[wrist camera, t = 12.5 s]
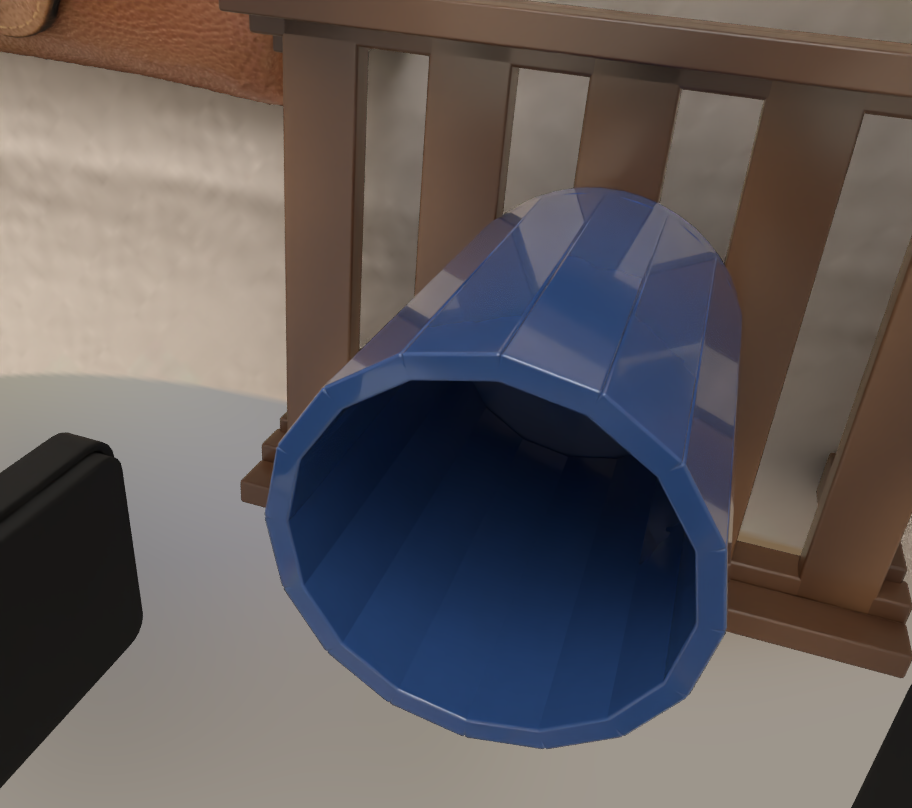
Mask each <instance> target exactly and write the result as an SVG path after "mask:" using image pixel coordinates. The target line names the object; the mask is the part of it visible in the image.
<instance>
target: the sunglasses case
mask: <svg viewBox="0 0 912 808" xmlns="http://www.w3.org/2000/svg"><path fill="white" fill-rule="evenodd" d="M0 52H5V53H12V54H19V55H25V56H34V57H38V58H43V59H51V60H56V61H64V62H67V63H75V64H79V65H84V66H93V67H98V68H105V69H109V70H115V71H121V72H127V73H133V74H140V75H144V76H148V77H153V78H157V79H163V80H166V81H172V82H176V83H182V84H185V85H189V86H193V87H198V88H204V89H209V90H211V91H214V92H219V93H225V94H229V95H231V96H235V97H239V98H245V99H250V100H254V101H257V102H263V103H267V104H269V105H271V104H273V105H275V104H277V105H281V106H283V53H280V52H275V51H274V50H273V35H266V34H258V33H253V32H251V31H250V29H249V14H241V13H233V12H225V11H221V10H220V9H219V0H0Z"/></svg>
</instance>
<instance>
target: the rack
mask: <svg viewBox="0 0 912 808" xmlns="http://www.w3.org/2000/svg"><path fill="white" fill-rule="evenodd" d="M219 9H220V10H221V11H225V12H233V13H241V14H249V29H250V31H251V32H253V33H258V34H266V35H273V50H274V51H275V52H280V53H283V119H284V196H285V273H286V350H287V412H286V413H285V414H284V415H283V416H282V417H281V418H280V429H277V430H276V431H275V432H274V433H273V434H272V435H271V436H270V437H269V438H268V439H267V440H266V441H265V442H264V443H263V444H262V461H260V462H259V463H258V464H257V465H256V466H255V467H254V468H253V469H252V470H251V471H250V472H249V473H248V474H247V475H246V476H245V477H244V478H243V479H242V480H241V500H242V501H243V502H246V503H250V504H254V505H258V506H261V507H265V508H266V504H267V498H268V493H269V487H270V481H271V475H272V470H273V464H274V458H275V453H276V448H277V446H278V443H279V442H280V440H281V439H282V438H283V436H284V435H285V434H286V433H287V431H288V430H289V429H290V428H291V426H292V425H293V424H294V423H295V421H296V420H297V419H298V417H299V416H300V415H301V414H302V412H303V411H304V410H305V409H306V407H307V406H308V405H309V404H310V402H311V401H312V400H313V398H314V397H315V396H316V395H317V393H318V392H319V391H320V390H321V388H322V387H323V386H324V385H325V384H327V383H328V382H329V381H330V380H331V379H332V378H333V377H334V376H335V375H336V374H337V373H338V372H339V371H340V370H341V369H342V368H343V367H344V366H345V365H346V364H347V363H348V362H349V361H350V360H351V359H352V358H353V357H354V356H355V355H356V354H357V353H358V352H359V351H360V350H359V341H360V309H361V278H362V246H363V215H364V183H365V152H366V120H367V89H368V57H369V50H371V49H380V50H387V51H395V52H403V53H410V54H418V55H425V56H430V57H429V72H428V88H427V104H426V120H425V135H424V151H423V167H422V183H421V198H420V214H419V230H418V246H417V261H416V277H415V293H414V297H415V296H416V295H417V294H418V293H419V292H420V291H421V290H422V289H423V288H424V287H425V286H426V285H427V284H428V283H429V282H430V281H431V280H432V279H433V278H434V277H435V276H436V275H437V274H438V273H439V272H440V271H441V270H442V269H443V268H444V267H445V266H446V265H447V264H448V263H449V262H450V261H451V260H452V259H454V258H455V257H456V256H457V255H458V254H459V253H460V252H461V251H462V250H463V249H464V248H465V247H466V246H467V245H468V244H469V243H470V242H471V241H472V240H473V239H474V238H475V237H476V236H477V235H478V234H479V233H480V232H481V231H482V230H483V229H484V228H485V227H486V226H487V225H488V224H490V223H491V222H492V221H494V220H496V219H498V218H500V217H501V216H502V215H503V209H504V200H505V191H506V182H507V173H508V164H509V155H510V146H511V137H512V128H513V119H514V110H515V101H516V92H517V83H518V74H519V68H524V69H532V70H539V71H547V72H554V73H562V74H570V75H577V76H585V77H590V80H589V87H588V94H587V101H586V107H585V114H584V121H583V127H582V134H581V141H580V148H579V154H578V161H577V168H576V174H575V181H574V188H579V187H592V188H607V189H614V190H621V191H625V192H628V193H632V194H636V195H639V196H642V197H645V198H647V199H649V200H652V201H654V202H657V203H659V204H660V199H661V194H662V189H663V183H664V178H665V173H666V168H667V163H668V158H669V153H670V148H671V143H672V138H673V133H674V128H675V123H676V118H677V113H678V108H679V103H680V98H681V93H682V89H683V90H691V91H699V92H706V93H714V94H721V95H729V96H737V97H744V98H752V99H759V100H764V102H763V106H762V110H761V115H760V119H759V123H758V127H757V131H756V135H755V139H754V143H753V147H752V152H751V156H750V160H749V164H748V168H747V172H746V176H745V180H744V184H743V189H742V193H741V197H740V201H739V205H738V209H737V213H736V217H735V221H734V226H733V230H732V234H731V238H730V242H729V246H728V250H727V254H726V258H725V262H724V265H725V267H726V269H727V271H728V272H729V274H730V276H731V279H732V281H733V284H734V287H735V290H736V292H737V295H738V300H739V305H740V310H741V314H742V368H741V387H740V405H739V423H738V441H737V459H736V478H735V496H734V514H733V532H732V550H731V568H730V586H729V604H728V622H727V629H726V631H728V632H731V633H735V634H739V635H742V636H746V637H750V638H753V639H757V640H761V641H765V642H768V643H772V644H776V645H780V646H784V647H787V648H791V649H794V650H798V651H802V652H806V653H810V654H813V655H817V656H821V657H825V658H828V659H832V660H836V661H839V662H843V663H847V664H850V665H855V666H858V667H862V668H865V669H869V670H873V671H877V672H880V673H884V674H888V675H892V676H895V677H899V678H903V677H904V676H905V674H906V672H907V670H908V668H909V666H910V663H911V661H912V650H911V646H910V641H909V636H908V631H907V627H906V625H905V624H906V621H907V619H908V617H909V615H910V612H911V610H912V602H911V597H910V593H909V588H908V584H907V583H906V582H905V581H903V579H904V577H905V575H906V572H907V566H906V562H905V558H904V553H903V549H902V545H901V538H902V536H903V534H904V531H905V529H906V526H907V524H908V521H909V519H910V517H911V514H912V236H911V239H910V242H909V245H908V247H907V250H906V253H905V256H904V259H903V262H902V265H901V268H900V270H899V273H898V276H897V279H896V282H895V285H894V288H893V291H892V294H891V296H890V299H889V302H888V305H887V308H886V311H885V314H884V317H883V319H882V322H881V325H880V328H879V331H878V334H877V337H876V340H875V342H874V345H873V348H872V351H871V354H870V357H869V360H868V363H867V366H866V368H865V371H864V374H863V377H862V380H861V383H860V386H859V389H858V391H857V394H856V397H855V400H854V403H853V406H852V409H851V412H850V414H849V417H848V420H847V423H846V426H845V429H844V432H843V435H842V438H841V440H840V443H839V446H838V449H837V452H836V453H830V454H829V456H828V459H827V462H826V465H825V468H824V471H823V474H822V477H821V480H820V483H819V485H818V488H817V491H816V492H817V503H818V507H817V510H816V512H815V515H814V518H813V521H812V524H811V527H810V530H809V533H808V535H807V538H806V541H805V544H804V547H803V550H802V553H801V556H798V555H794V554H790V553H786V552H782V551H778V550H774V549H770V548H765V547H761V546H757V545H753V544H749V543H745V542H741V541H737V538H738V535H739V531H740V528H741V525H742V521H743V518H744V515H745V511H746V508H747V505H748V501H749V498H750V495H751V491H752V488H753V485H754V481H755V478H756V475H757V471H758V468H759V465H760V461H761V458H762V455H763V451H764V448H765V445H766V441H767V438H768V434H769V431H770V428H771V424H772V421H773V418H774V414H775V411H776V408H777V404H778V401H779V398H780V394H781V391H782V388H783V384H784V381H785V378H786V374H787V371H788V368H789V364H790V361H791V358H792V354H793V351H794V348H795V344H796V341H797V338H798V334H799V331H800V327H801V324H802V321H803V317H804V314H805V311H806V307H807V304H808V301H809V297H810V294H811V291H812V287H813V284H814V281H815V277H816V274H817V271H818V267H819V264H820V261H821V257H822V254H823V251H824V247H825V244H826V241H827V237H828V234H829V231H830V227H831V224H832V220H833V217H834V214H835V210H836V207H837V204H838V200H839V197H840V194H841V190H842V187H843V184H844V180H845V177H846V174H847V170H848V167H849V164H850V160H851V157H852V154H853V150H854V147H855V144H856V140H857V137H858V134H859V130H860V127H861V124H862V120H863V117H864V114H865V113H866V114H873V115H881V116H888V117H896V118H904V119H911V120H912V44H906V43H897V42H888V41H880V40H871V39H862V38H853V37H844V36H835V35H827V34H818V33H809V32H800V31H791V30H783V29H774V28H765V27H756V26H747V25H738V24H730V23H721V22H712V21H703V20H694V19H686V18H677V17H668V16H659V15H650V14H641V13H633V12H624V11H615V10H606V9H597V8H588V7H580V6H571V5H562V4H553V3H544V2H536V1H527V0H219Z"/></svg>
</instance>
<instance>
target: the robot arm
mask: <svg viewBox="0 0 912 808" xmlns="http://www.w3.org/2000/svg"><path fill="white" fill-rule="evenodd" d="M142 620H143V611H142V605H141V597H140V590H139V584H138V577H137V569H136V563H135V556H134V548H133V541H132V534H131V528H130V520H129V513H128V507H127V499H126V492H125V485H124V478H123V471H122V467H121V463H120V462H119V460H118V459H116V458H114V455H113V451H112V450H111V448H110V447H109V445H107V444H105V443H103V442H100V441H96V440H93V439H89V438H85V437H82V436H78V435H74V434H71V433H59V434H57V435H55V436H53V437H51V438H50V439H48V440H47V441H46V442H44V443H42V444H41V445H40V446H38V447H37V448H35V449H34V450H32V451H31V452H30V453H28V454H27V455H25V456H24V457H23V458H21V459H20V460H18V461H17V462H15V463H14V464H12V465H11V466H10V467H8V468H7V469H5V470H4V471H2V472H1V473H0V788H1V787H2V786H3V785H4V784H5V783H6V781H7V780H8V779H9V778H10V777H11V776H12V775H13V774H14V773H15V771H16V770H17V769H18V768H19V767H20V766H21V765H22V764H23V763H24V761H25V760H26V759H27V758H28V757H29V756H30V755H31V754H32V753H33V751H35V749H36V748H37V747H38V746H39V745H40V744H41V743H42V742H43V741H44V740H45V738H46V737H47V736H48V735H49V734H50V733H51V732H52V731H53V730H54V729H55V727H56V726H57V725H58V724H59V723H60V722H61V721H62V720H63V719H64V718H65V716H66V715H67V714H68V713H69V712H70V711H71V710H72V709H73V708H74V707H75V705H76V704H77V703H78V702H79V701H80V700H81V699H82V698H83V697H84V696H85V694H86V693H87V692H88V691H89V690H90V689H91V688H92V687H93V686H94V684H95V683H96V682H97V681H98V680H99V679H100V678H101V677H102V676H103V675H104V674H105V672H106V671H107V670H108V669H109V668H110V667H111V666H112V665H113V664H114V662H115V661H116V660H117V659H118V658H119V657H120V656H121V655H122V654H123V653H124V651H125V650H126V649H127V648H128V647H129V646H130V645H131V644H132V642H133V641H134V640H135V638H136V636H137V635H138V633H139V630H140V628H141V624H142ZM851 808H912V685H911V686H910V688H909V690H908V692H907V694H906V696H905V698H904V700H903V702H902V704H901V707H900V708H899V710H898V713H897V715H896V717H895V719H894V721H893V723H892V725H891V727H890V729H889V731H888V733H887V736H886V738H885V740H884V741H883V744H882V745H881V748H880V750H879V752H878V754H877V756H876V758H875V760H874V762H873V764H872V766H871V768H870V770H869V772H868V774H867V776H866V778H865V781H864V783H863V785H862V787H861V789H860V791H859V793H858V795H857V797H856V799H855V801H854V803H853V805H852V807H851Z"/></svg>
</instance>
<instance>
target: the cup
mask: <svg viewBox="0 0 912 808" xmlns="http://www.w3.org/2000/svg"><path fill="white" fill-rule="evenodd" d="M741 368H742V314H741V310H740V305H739V300H738V295H737V292H736V290H735V287H734V284H733V281H732V279H731V276H730V274H729V272H728V271H727V269H726V267H725V265H724V263H723V261H722V259H721V258H720V256H719V255H718V254H717V252H716V251H715V250H714V248H713V247H712V246H711V244H710V243H709V242H708V241H707V240H706V239H705V238H704V237H703V236H702V234H701V233H700V232H699V231H698V230H697V229H696V228H695V227H693V226H692V225H691V224H690V223H688V222H687V221H686V220H684V219H683V218H682V217H681V216H679V215H678V214H676V213H675V212H673V211H671V210H670V209H668V208H666V207H664V206H663V205H661V204H659V203H657V202H654V201H652V200H649V199H647V198H645V197H642V196H639V195H636V194H632V193H628V192H625V191H621V190H614V189H607V188H592V187H579V188H571V189H564V190H558V191H554V192H550V193H546V194H543V195H540V196H537V197H535V198H532V199H530V200H528V201H525V202H523V203H521V204H519V205H518V206H516V207H514V208H513V209H511V210H509V211H507V212H506V213H505V214H503V215H502V216H501V217H500V218H498V219H496V220H494V221H492V222H491V223H490V224H488V225H487V226H486V227H485V228H484V229H483V230H482V231H481V232H480V233H479V234H478V235H477V236H476V237H475V238H474V239H473V240H472V241H471V242H470V243H469V244H468V245H467V246H466V247H465V248H464V249H463V250H462V251H461V252H460V253H459V254H458V255H457V256H456V257H455V258H454V259H452V260H451V261H450V262H449V263H448V264H447V265H446V266H445V267H444V268H443V269H442V270H441V271H440V272H439V273H438V274H437V275H436V276H435V277H434V278H433V279H432V280H431V281H430V282H429V283H428V284H427V285H426V286H425V287H424V288H423V289H422V290H421V291H420V292H419V293H418V294H417V295H416V296H415V297H414V298H413V299H412V300H411V301H410V302H409V303H408V304H407V305H406V306H405V307H404V308H403V309H402V310H401V311H400V312H399V313H398V314H397V315H396V316H395V317H394V318H393V319H392V320H391V321H389V322H388V323H387V324H386V325H385V326H384V327H383V328H382V329H381V330H380V331H379V332H378V333H377V334H376V335H375V336H374V337H373V338H372V339H371V340H370V341H369V342H368V343H367V344H366V345H365V346H364V347H363V348H362V349H361V350H360V351H359V352H358V353H357V354H356V355H355V356H354V357H353V358H352V359H351V360H350V361H349V362H348V363H347V364H346V365H345V366H344V367H343V368H342V369H341V370H340V371H339V372H338V373H337V374H336V375H335V376H334V377H333V378H332V379H331V380H330V381H329V382H328V383H327V384H325V385H324V386H323V387H322V388H321V390H320V391H319V392H318V393H317V395H316V396H315V397H314V398H313V400H312V401H311V402H310V404H309V405H308V406H307V407H306V409H305V410H304V411H303V412H302V414H301V415H300V416H299V417H298V419H297V420H296V421H295V423H294V424H293V425H292V426H291V428H290V429H289V430H288V431H287V433H286V434H285V435H284V436H283V438H282V439H281V440H280V442H279V443H278V446H277V448H276V453H275V458H274V464H273V470H272V475H271V481H270V487H269V493H268V498H267V504H266V510H265V521H266V525H267V528H268V533H269V537H270V540H271V544H272V548H273V552H274V556H275V559H276V563H277V567H278V571H279V575H280V579H281V583H282V586H284V590H285V591H286V593H287V595H288V596H289V598H290V599H291V600H292V602H293V603H294V605H295V606H296V608H297V609H298V611H299V612H300V613H301V615H302V617H303V618H304V620H305V621H306V622H307V624H308V625H309V627H310V628H311V630H312V631H313V633H314V634H315V636H316V637H317V639H318V640H319V642H320V643H321V644H322V646H323V648H324V649H325V650H326V651H328V653H329V654H330V655H331V656H332V657H333V658H335V659H336V660H337V661H338V662H340V663H341V664H342V665H343V666H344V667H346V668H347V669H348V670H349V671H350V672H352V673H353V674H354V675H355V676H357V677H358V678H359V679H360V680H361V681H363V682H364V683H365V684H366V685H367V686H369V687H370V688H371V689H372V690H374V691H375V692H376V693H377V694H379V695H380V696H381V697H382V698H383V699H385V700H386V701H388V702H390V703H391V704H392V705H394V706H397V707H399V708H401V709H403V710H405V711H408V712H410V713H412V714H414V715H416V716H419V717H421V718H423V719H426V720H428V721H430V722H432V723H434V724H437V725H439V726H441V727H443V728H445V729H448V730H450V731H452V732H454V733H457V734H459V735H461V736H464V735H465V736H466V737H467V738H474V739H480V740H488V741H494V742H500V743H507V744H513V745H520V746H527V747H533V748H539V749H544V748H546V749H551V748H557V747H563V746H569V745H576V744H581V743H588V742H594V741H600V740H606V739H613V738H619V737H622V735H623V736H625V735H627V734H629V733H630V732H632V731H633V730H635V729H637V728H638V727H640V726H641V725H643V724H645V723H646V722H648V721H650V720H651V719H653V718H655V717H656V716H658V715H659V714H661V713H663V712H664V711H666V710H668V709H669V708H671V707H673V706H674V705H676V704H677V703H679V702H681V701H682V700H684V699H685V698H686V697H687V696H688V695H689V694H690V693H691V691H692V690H693V687H694V686H695V684H696V683H697V681H698V679H699V678H700V676H701V674H702V673H703V671H704V669H705V668H706V666H707V664H708V662H709V661H710V659H711V657H712V656H713V654H714V652H715V651H716V649H717V647H718V645H719V644H720V642H721V640H722V639H723V637H724V635H725V634H726V629H727V622H728V604H729V586H730V568H731V550H732V532H733V514H734V496H735V478H736V459H737V441H738V423H739V405H740V387H741Z"/></svg>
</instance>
